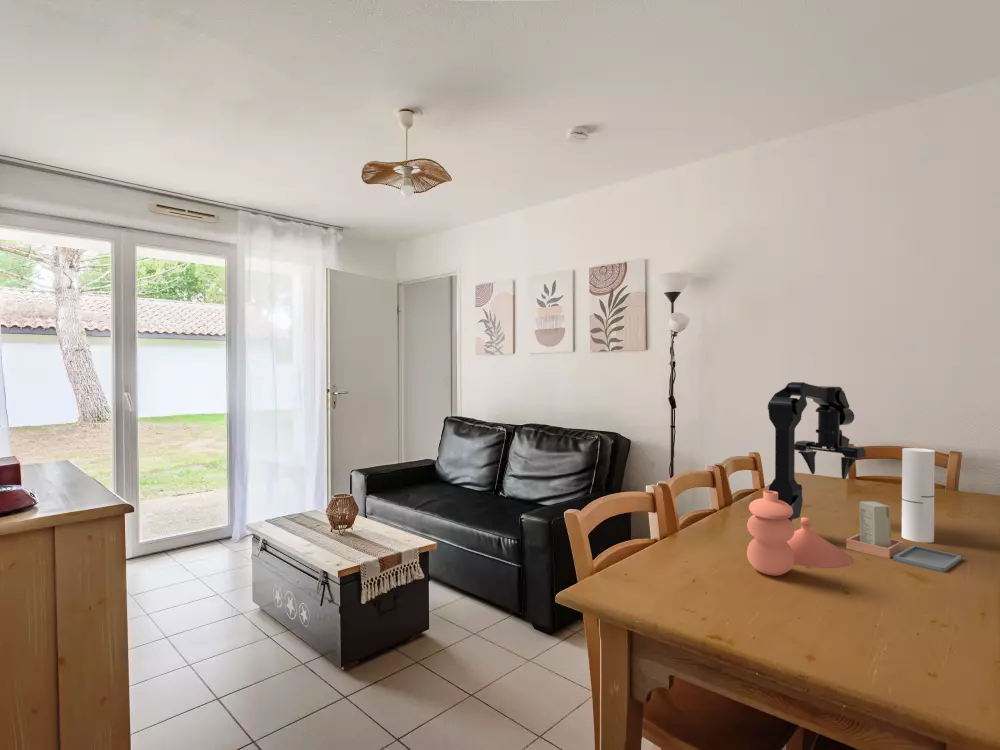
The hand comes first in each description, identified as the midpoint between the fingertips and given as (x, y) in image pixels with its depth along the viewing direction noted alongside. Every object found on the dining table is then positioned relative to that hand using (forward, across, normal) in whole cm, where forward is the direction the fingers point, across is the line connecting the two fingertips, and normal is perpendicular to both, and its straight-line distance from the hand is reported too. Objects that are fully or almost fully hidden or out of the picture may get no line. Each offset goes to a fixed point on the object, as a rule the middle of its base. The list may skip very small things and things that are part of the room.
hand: (828, 476), depth 167 cm
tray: (+14, -31, +15) cm, 38 cm away
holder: (+14, -20, +17) cm, 30 cm away
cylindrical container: (+14, -22, -3) cm, 27 cm away
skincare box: (+14, -20, +17) cm, 30 cm away
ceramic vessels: (+15, -13, +42) cm, 47 cm away
